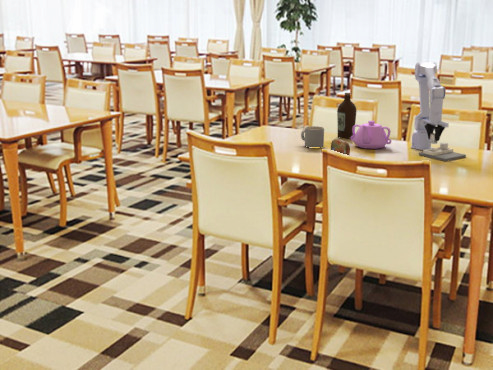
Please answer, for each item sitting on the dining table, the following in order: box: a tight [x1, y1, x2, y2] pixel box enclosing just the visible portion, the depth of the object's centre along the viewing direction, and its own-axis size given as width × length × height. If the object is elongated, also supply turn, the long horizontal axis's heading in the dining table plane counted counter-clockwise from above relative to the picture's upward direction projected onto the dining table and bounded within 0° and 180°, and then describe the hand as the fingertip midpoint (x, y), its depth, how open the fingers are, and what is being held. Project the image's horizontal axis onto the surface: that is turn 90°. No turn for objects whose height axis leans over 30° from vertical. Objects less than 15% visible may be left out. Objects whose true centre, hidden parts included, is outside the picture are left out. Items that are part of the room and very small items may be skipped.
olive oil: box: [336, 92, 357, 140], centre depth 342 cm, size 11×11×25 cm
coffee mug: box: [300, 125, 325, 148], centre depth 322 cm, size 13×10×10 cm
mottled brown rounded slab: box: [330, 138, 351, 156], centre depth 297 cm, size 15×3×8 cm, turn 21°
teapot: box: [350, 120, 392, 150], centre depth 317 cm, size 22×22×14 cm
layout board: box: [418, 142, 467, 162], centre depth 297 cm, size 16×15×5 cm
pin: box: [430, 132, 438, 145], centre depth 296 cm, size 4×4×4 cm
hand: (433, 140), depth 296 cm, fingers closed on pin, 4 cm apart
